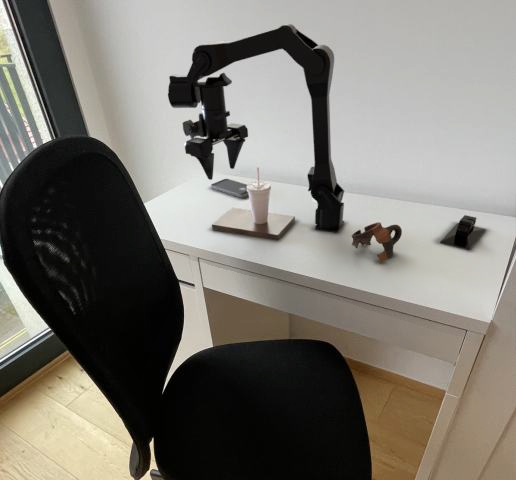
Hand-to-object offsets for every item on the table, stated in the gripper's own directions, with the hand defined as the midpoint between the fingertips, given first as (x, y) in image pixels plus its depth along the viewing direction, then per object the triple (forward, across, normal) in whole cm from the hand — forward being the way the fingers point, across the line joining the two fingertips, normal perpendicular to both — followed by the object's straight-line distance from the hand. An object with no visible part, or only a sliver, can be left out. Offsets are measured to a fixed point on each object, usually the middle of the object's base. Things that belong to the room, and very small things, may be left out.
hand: (221, 173), depth 108 cm
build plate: (+13, -21, +59) cm, 64 cm away
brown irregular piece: (+13, -3, +44) cm, 46 cm away
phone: (+13, -19, -13) cm, 27 cm away
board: (+13, -1, +9) cm, 16 cm away
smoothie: (+12, -2, +11) cm, 16 cm away
